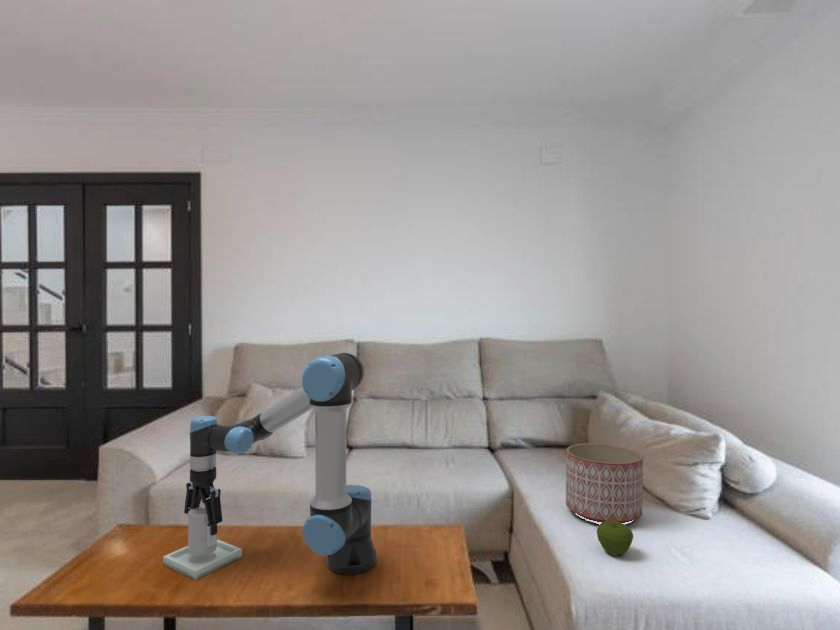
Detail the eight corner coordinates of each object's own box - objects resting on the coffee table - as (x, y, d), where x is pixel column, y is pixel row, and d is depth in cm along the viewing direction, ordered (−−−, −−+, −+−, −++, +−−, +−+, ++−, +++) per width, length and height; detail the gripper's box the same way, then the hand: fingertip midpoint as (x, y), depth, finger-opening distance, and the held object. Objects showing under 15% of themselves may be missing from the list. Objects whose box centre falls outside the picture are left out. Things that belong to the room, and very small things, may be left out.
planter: (647, 510, 196) (648, 449, 196) (635, 536, 173) (636, 468, 173) (576, 495, 211) (577, 439, 211) (556, 518, 188) (557, 455, 188)
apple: (591, 553, 161) (591, 522, 161) (604, 542, 169) (605, 512, 169) (625, 565, 154) (625, 532, 154) (638, 553, 161) (638, 522, 161)
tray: (241, 556, 157) (241, 548, 157) (195, 580, 144) (195, 571, 144) (209, 543, 166) (209, 536, 166) (163, 564, 152) (163, 556, 152)
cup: (206, 557, 150) (206, 517, 150) (182, 554, 152) (182, 514, 151) (222, 544, 158) (222, 506, 158) (199, 541, 160) (199, 504, 159)
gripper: (235, 470, 152) (235, 545, 152) (193, 458, 163) (193, 528, 163) (214, 477, 146) (213, 555, 146) (171, 464, 157) (171, 537, 157)
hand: (202, 540), depth 155 cm, fingers closed on cup, 8 cm apart
